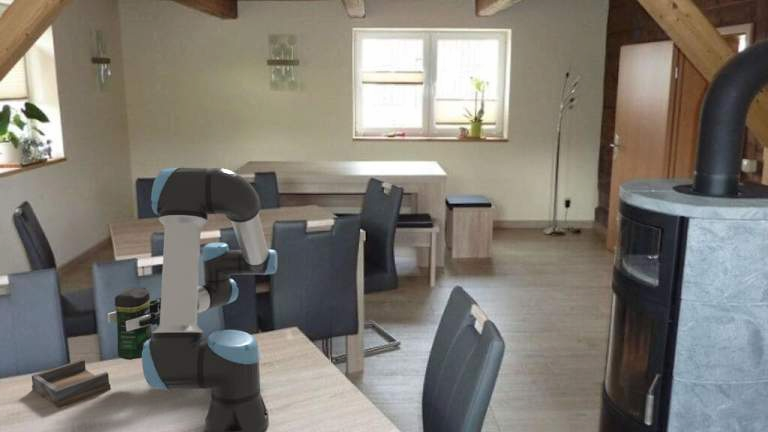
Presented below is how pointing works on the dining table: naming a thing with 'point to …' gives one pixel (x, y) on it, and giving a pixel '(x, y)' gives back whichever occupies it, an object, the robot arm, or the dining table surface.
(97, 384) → the rail dock
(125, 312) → the coffee jar
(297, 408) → the dining table surface
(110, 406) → the dining table surface
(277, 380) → the dining table surface
